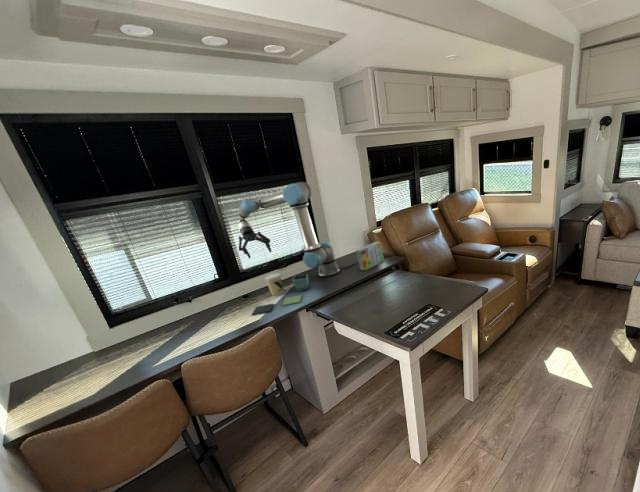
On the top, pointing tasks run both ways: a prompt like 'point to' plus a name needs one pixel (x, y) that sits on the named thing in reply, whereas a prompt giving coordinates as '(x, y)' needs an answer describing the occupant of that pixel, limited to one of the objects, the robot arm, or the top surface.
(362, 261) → the snack box
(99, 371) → the top surface
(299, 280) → the flower pot
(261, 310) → the slate mat
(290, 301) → the sage mat
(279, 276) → the coffee cup
